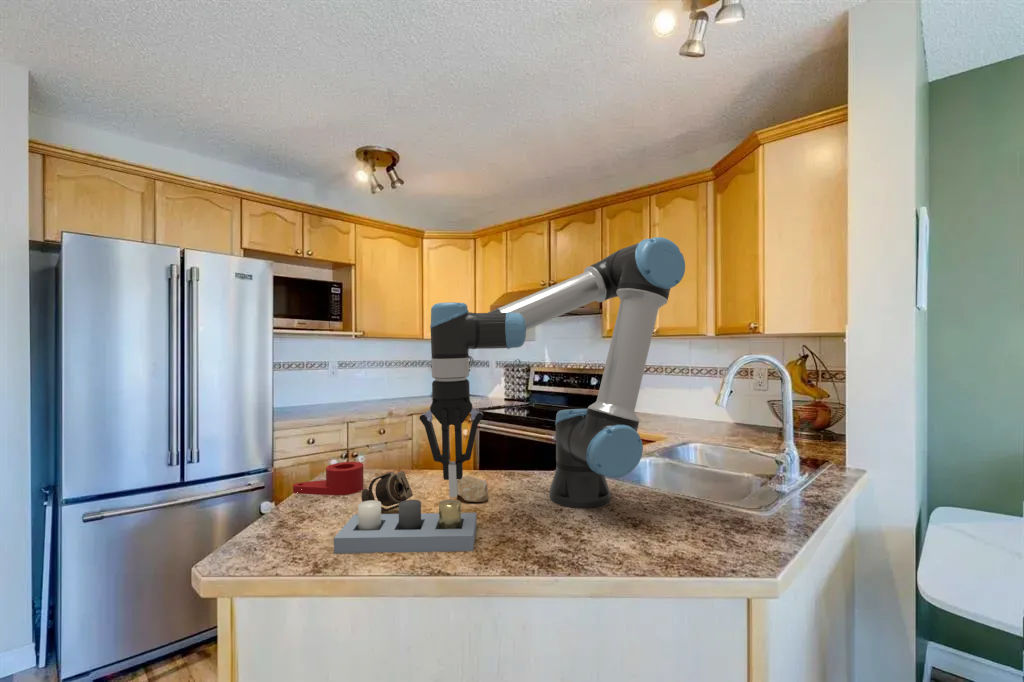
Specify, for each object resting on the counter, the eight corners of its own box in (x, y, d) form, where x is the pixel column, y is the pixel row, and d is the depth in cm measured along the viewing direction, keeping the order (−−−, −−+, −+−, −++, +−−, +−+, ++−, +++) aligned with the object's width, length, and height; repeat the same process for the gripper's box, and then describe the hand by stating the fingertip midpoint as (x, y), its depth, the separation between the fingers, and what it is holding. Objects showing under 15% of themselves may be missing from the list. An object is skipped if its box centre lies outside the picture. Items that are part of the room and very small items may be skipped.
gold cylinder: (461, 523, 96) (461, 499, 96) (460, 532, 92) (459, 506, 92) (440, 523, 96) (440, 499, 96) (437, 532, 92) (437, 506, 92)
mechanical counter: (401, 522, 103) (401, 477, 103) (348, 518, 105) (348, 474, 105) (415, 510, 110) (414, 468, 110) (365, 507, 112) (364, 465, 112)
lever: (366, 485, 130) (366, 461, 130) (359, 496, 121) (358, 470, 121) (299, 487, 129) (299, 463, 129) (286, 498, 119) (286, 472, 119)
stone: (486, 492, 124) (487, 475, 125) (487, 503, 114) (489, 485, 114) (454, 490, 124) (456, 472, 124) (453, 501, 113) (455, 482, 113)
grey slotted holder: (476, 526, 100) (476, 512, 100) (473, 551, 88) (473, 535, 88) (354, 528, 99) (354, 514, 99) (334, 554, 87) (333, 538, 87)
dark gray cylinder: (422, 523, 96) (422, 499, 96) (419, 532, 92) (418, 507, 92) (401, 524, 96) (401, 499, 96) (396, 533, 91) (396, 507, 91)
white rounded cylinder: (383, 524, 96) (383, 500, 96) (378, 533, 91) (377, 507, 91) (362, 524, 96) (361, 500, 96) (355, 533, 91) (355, 508, 91)
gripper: (483, 376, 99) (486, 488, 99) (421, 378, 98) (424, 490, 99) (482, 379, 91) (485, 500, 91) (415, 381, 91) (418, 502, 91)
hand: (453, 495), depth 95 cm, fingers closed
